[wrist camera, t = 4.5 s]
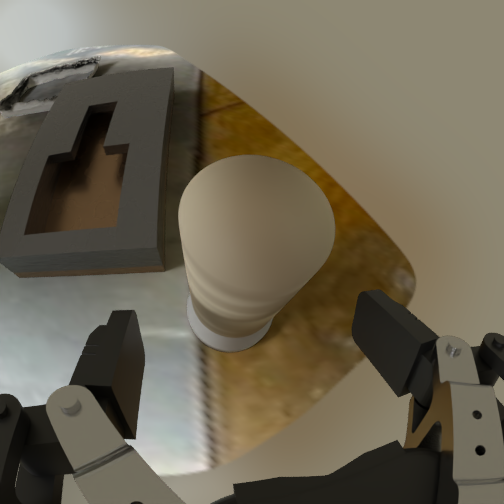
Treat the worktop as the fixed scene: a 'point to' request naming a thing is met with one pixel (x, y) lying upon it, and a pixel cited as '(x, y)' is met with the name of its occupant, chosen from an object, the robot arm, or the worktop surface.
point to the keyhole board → (95, 181)
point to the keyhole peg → (249, 245)
